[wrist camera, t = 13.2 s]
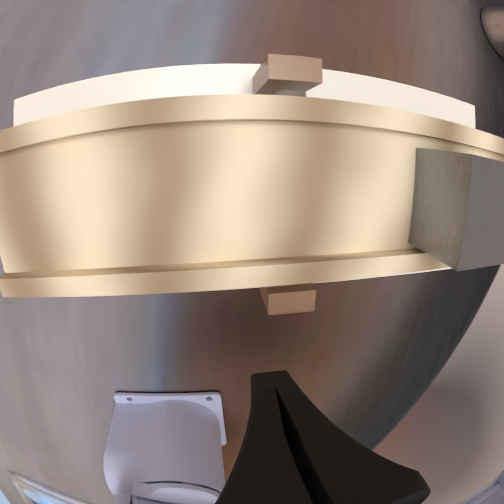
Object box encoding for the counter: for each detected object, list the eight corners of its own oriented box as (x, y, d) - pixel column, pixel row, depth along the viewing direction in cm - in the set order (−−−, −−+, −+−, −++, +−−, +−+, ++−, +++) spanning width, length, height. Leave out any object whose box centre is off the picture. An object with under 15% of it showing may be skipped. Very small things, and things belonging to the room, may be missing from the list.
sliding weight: (407, 242, 15) (457, 271, 11) (415, 147, 13) (472, 154, 9) (466, 239, 15) (512, 262, 12) (475, 158, 14) (526, 168, 10)
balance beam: (27, 284, 14) (5, 305, 12) (5, 128, 11) (-24, 128, 9) (474, 253, 18) (499, 266, 16) (487, 132, 15) (515, 135, 13)
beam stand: (44, 289, 19) (6, 331, 13) (21, 100, 14) (-31, 94, 9) (453, 263, 23) (497, 291, 18) (466, 106, 18) (519, 106, 13)
